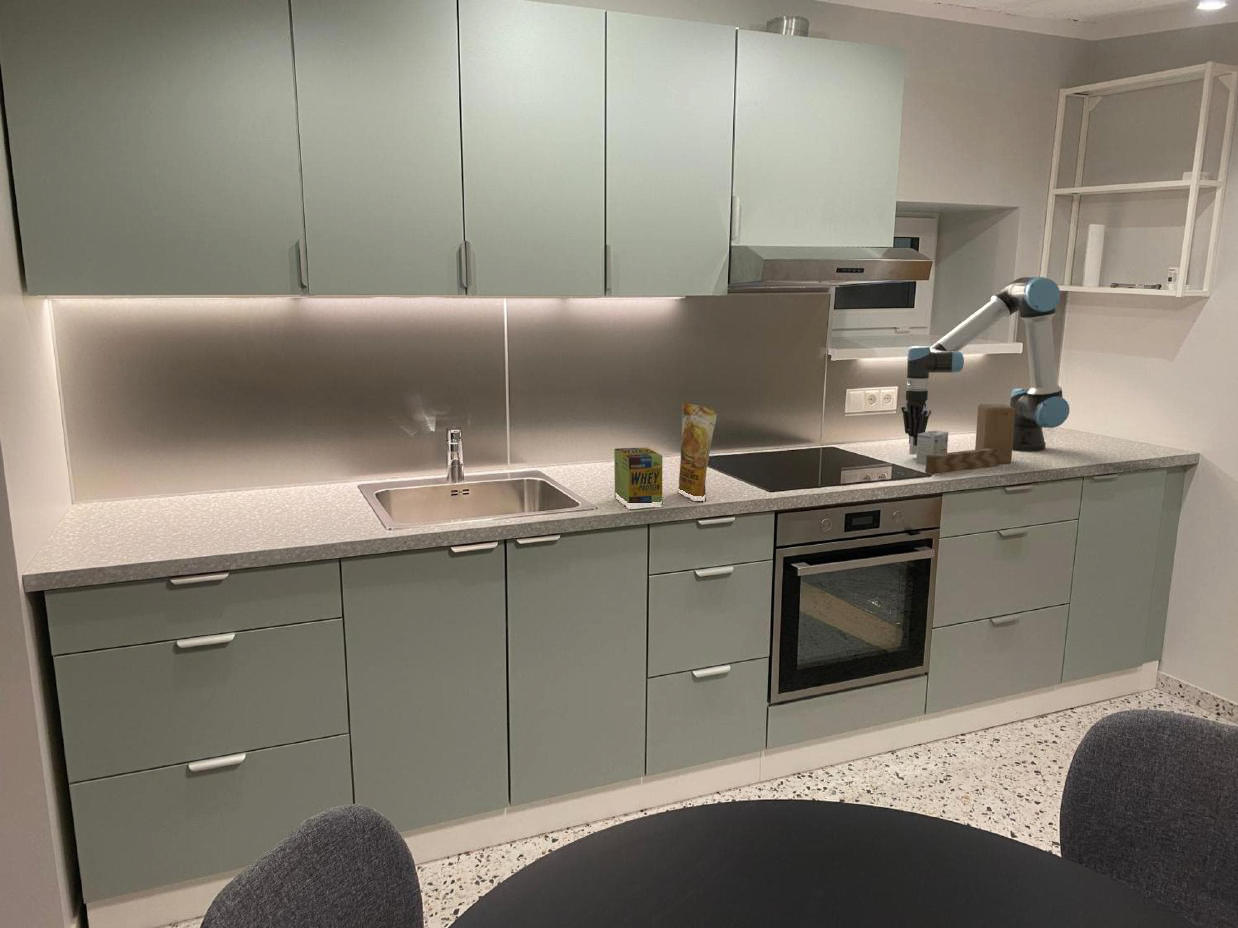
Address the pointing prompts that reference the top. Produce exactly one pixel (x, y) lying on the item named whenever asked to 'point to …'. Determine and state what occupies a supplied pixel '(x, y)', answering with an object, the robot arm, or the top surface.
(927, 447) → the light bulb box
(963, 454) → the walnut board
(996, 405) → the wooden block
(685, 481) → the pancake mix bag
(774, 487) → the top surface
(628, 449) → the protein box
